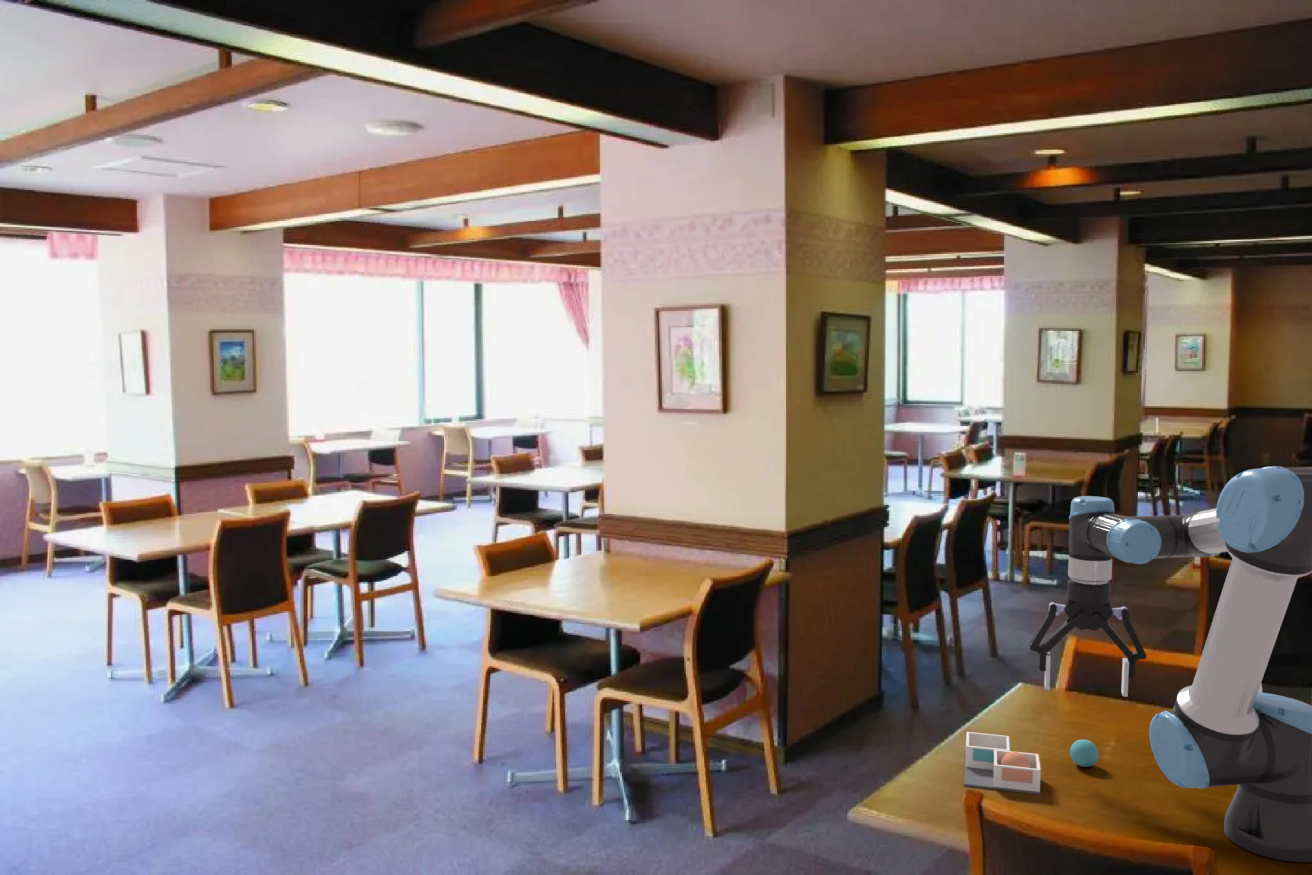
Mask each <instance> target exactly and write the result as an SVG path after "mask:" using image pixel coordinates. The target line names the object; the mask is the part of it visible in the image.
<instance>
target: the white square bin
mask: <svg viewBox="0 0 1312 875" xmlns="http://www.w3.org/2000/svg"><path fill="white" fill-rule="evenodd" d="M965 737H966V738H965V754H966V767H971V768H980V769H989V770H993V766H994V750H1004V751H1012V749H1011V740H1010V736H1009V735H1001V734H992V733H991V734H990V733H984V732H983V733H981V732H973V731H972V732H970V731H966V736H965Z"/></svg>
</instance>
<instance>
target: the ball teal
mask: <svg viewBox="0 0 1312 875" xmlns="http://www.w3.org/2000/svg"><path fill="white" fill-rule="evenodd" d="M1069 753H1070V754H1069V755H1070V757H1071V760H1072V761H1073V762H1074V764H1076V765H1078V766H1080V767H1082V768H1089V767H1092V766H1094V765H1095V764H1096V763H1097V761H1098V760H1099V749H1098V747H1097V745H1096V744H1094V743H1093V742H1092V741H1091V740H1089V739H1082V738H1081V739H1078V740H1075V742H1073V743H1072V744H1071V746H1070V750H1069Z"/></svg>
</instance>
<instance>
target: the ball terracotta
mask: <svg viewBox="0 0 1312 875" xmlns="http://www.w3.org/2000/svg"><path fill="white" fill-rule="evenodd" d="M1019 752H1020V751H1014V752H1009V753H1007V754H1006V755H1005V756H1004V757H1003V758H1002V761H1001V765H1006V766H1016V767H1025V768H1030V764H1029V761H1028V759H1027V758H1026V757H1025V756H1024V755H1023V754H1021V753H1019Z"/></svg>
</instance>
